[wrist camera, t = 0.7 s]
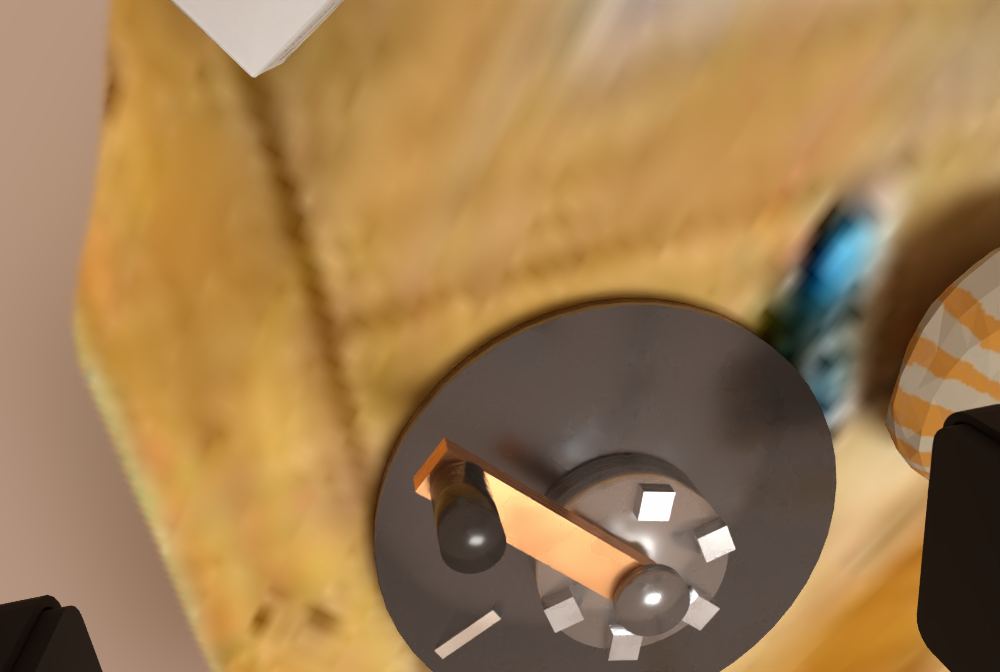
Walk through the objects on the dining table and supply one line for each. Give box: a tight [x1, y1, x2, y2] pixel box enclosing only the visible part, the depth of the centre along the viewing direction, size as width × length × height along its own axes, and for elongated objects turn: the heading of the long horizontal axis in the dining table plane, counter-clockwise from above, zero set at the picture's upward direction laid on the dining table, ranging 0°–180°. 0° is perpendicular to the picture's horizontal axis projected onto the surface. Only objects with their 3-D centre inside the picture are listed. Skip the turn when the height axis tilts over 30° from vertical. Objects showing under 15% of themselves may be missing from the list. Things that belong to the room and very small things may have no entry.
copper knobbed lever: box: [413, 437, 735, 661], centre depth 39 cm, size 18×10×9 cm, turn 53°
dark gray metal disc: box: [374, 299, 836, 672], centre depth 45 cm, size 26×26×1 cm
